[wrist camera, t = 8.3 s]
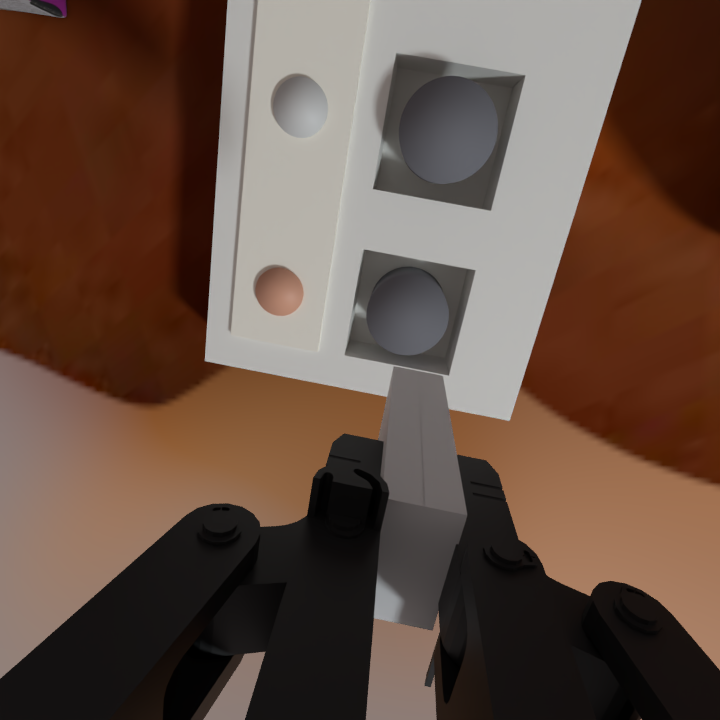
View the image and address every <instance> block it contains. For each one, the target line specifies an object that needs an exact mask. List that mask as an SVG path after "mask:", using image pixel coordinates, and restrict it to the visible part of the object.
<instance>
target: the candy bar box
mask: <svg viewBox="0 0 720 720" xmlns="http://www.w3.org/2000/svg"><path fill="white" fill-rule="evenodd" d="M0 9H4V10H15V11H22V12H29V13H35V14H41V15H47V16H54V17H60V18H65V17H66V15H67V6H66V0H0Z"/></svg>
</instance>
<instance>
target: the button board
mask: <svg viewBox="0 0 720 720" xmlns="http://www.w3.org/2000/svg"><path fill="white" fill-rule="evenodd" d="M640 4H641V0H228V4H227V19H226V35H225V51H224V67H223V83H222V99H221V114H220V130H219V146H218V162H217V178H216V193H215V209H214V225H213V241H212V257H211V273H210V288H209V304H208V320H207V336H206V352H205V361H208V362H213V363H218V364H223V365H228V366H233V367H238V368H243V369H249V370H254V371H259V372H264V373H269V374H274V375H279V376H284V377H289V378H294V379H299V380H305V381H310V382H315V383H320V384H325V385H330V386H335V387H340V388H345V389H350V390H355V391H361V392H366V393H371V394H376V395H381V396H386V397H387V395H388V390H389V386H390V381H391V376H392V371H393V367H394V366H396V367H401V368H406V369H411V370H416V371H422V372H427V373H432V374H437V375H442V376H443V380H444V385H445V391H446V397H447V402H448V408H449V409H452V410H458V411H463V412H467V413H473V414H478V415H483V416H488V417H493V418H498V419H503V420H508V421H510V418H511V415H512V411H513V408H514V405H515V402H516V399H517V396H518V392H519V389H520V386H521V383H522V380H523V376H524V373H525V370H526V367H527V364H528V361H529V357H530V354H531V351H532V348H533V345H534V341H535V338H536V335H537V332H538V329H539V325H540V322H541V319H542V316H543V313H544V310H545V306H546V303H547V300H548V297H549V294H550V290H551V287H552V284H553V281H554V278H555V274H556V271H557V268H558V265H559V262H560V259H561V255H562V252H563V249H564V246H565V243H566V239H567V236H568V233H569V230H570V227H571V223H572V220H573V217H574V214H575V211H576V208H577V204H578V201H579V198H580V195H581V192H582V188H583V185H584V182H585V179H586V176H587V173H588V169H589V166H590V163H591V160H592V157H593V153H594V150H595V147H596V144H597V141H598V137H599V134H600V131H601V128H602V125H603V122H604V118H605V115H606V112H607V109H608V106H609V102H610V99H611V96H612V93H613V90H614V86H615V83H616V80H617V77H618V74H619V71H620V67H621V64H622V61H623V58H624V55H625V51H626V48H627V45H628V42H629V39H630V35H631V32H632V29H633V26H634V23H635V20H636V16H637V13H638V10H639V7H640ZM444 76H460V77H464V78H467V79H470V80H472V81H474V82H475V83H477V84H478V85H480V86H481V87H482V88H483V89H484V90H485V91H486V92H487V93H488V95H489V97H490V98H491V100H492V102H493V104H494V106H495V109H496V113H497V118H498V134H497V139H496V143H495V146H494V149H493V151H492V153H491V155H490V157H489V158H488V160H487V161H486V162H485V164H484V165H483V166H482V167H481V168H480V169H479V170H478V171H477V172H476V173H474V174H473V175H471V176H470V177H468V178H466V179H464V180H462V181H458V182H455V183H448V184H434V183H430V182H427V181H425V180H423V179H421V178H419V177H418V176H416V175H415V174H414V173H413V172H412V171H411V170H410V169H409V167H408V166H407V164H406V162H405V161H404V158H403V156H402V152H401V148H400V142H399V125H400V120H401V116H402V113H403V110H404V108H405V106H406V104H407V102H408V101H409V99H410V98H411V97H412V95H413V94H414V93H415V92H416V91H417V90H418V89H419V88H420V87H422V86H423V85H424V84H426V83H427V82H429V81H431V80H433V79H436V78H439V77H444ZM400 267H416V268H420V269H423V270H425V271H427V272H428V273H430V274H431V275H432V276H433V277H434V278H435V279H436V280H437V281H438V282H439V284H440V286H441V287H442V290H443V293H444V295H445V298H446V301H447V305H448V309H449V321H448V325H447V329H446V331H445V333H444V335H443V336H442V338H441V339H440V340H439V342H438V343H437V344H436V345H435V346H433V347H432V348H430V349H429V350H427V351H425V352H423V353H420V354H416V355H399V354H395V353H392V352H389V351H388V350H386V349H384V348H383V347H381V346H380V345H379V344H378V343H377V342H376V341H375V340H374V338H373V337H372V335H371V333H370V331H369V329H368V325H367V320H366V312H367V306H368V303H369V300H370V297H371V294H372V291H373V289H374V287H375V285H376V283H377V282H378V281H379V279H380V278H381V277H382V276H384V275H385V274H386V273H388V272H389V271H391V270H393V269H396V268H400Z"/></svg>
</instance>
